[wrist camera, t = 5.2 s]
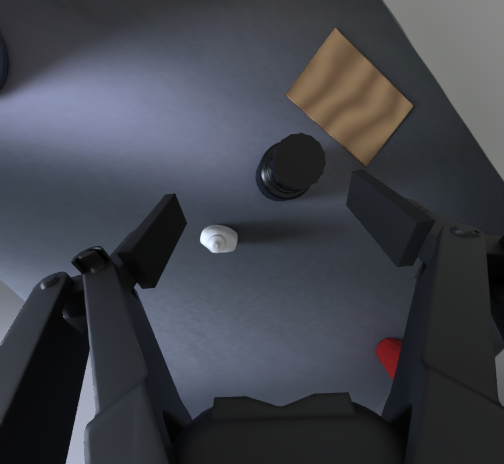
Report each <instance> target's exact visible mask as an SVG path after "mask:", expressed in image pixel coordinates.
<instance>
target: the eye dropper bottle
mask: <svg viewBox="0 0 504 464" xmlns="http://www.w3.org/2000/svg"><path fill="white" fill-rule="evenodd" d="M237 240H238V236H237V233H236V232H235V231H234V230H232V229H231V228H229V227H226V226H222V225H211V226H209V227H207V228H205V229H204V230H203V231H202V234H201V238H200V242H201V243H202V244H203V245H204V246H206V247H207V248H209V249H210V251H212V252H213V253H219V252H232V251H234V250H235V248H236V245H237Z"/></svg>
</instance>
